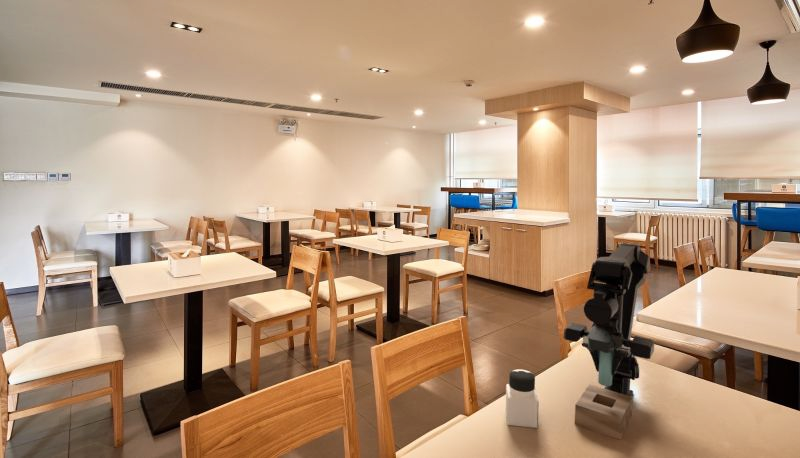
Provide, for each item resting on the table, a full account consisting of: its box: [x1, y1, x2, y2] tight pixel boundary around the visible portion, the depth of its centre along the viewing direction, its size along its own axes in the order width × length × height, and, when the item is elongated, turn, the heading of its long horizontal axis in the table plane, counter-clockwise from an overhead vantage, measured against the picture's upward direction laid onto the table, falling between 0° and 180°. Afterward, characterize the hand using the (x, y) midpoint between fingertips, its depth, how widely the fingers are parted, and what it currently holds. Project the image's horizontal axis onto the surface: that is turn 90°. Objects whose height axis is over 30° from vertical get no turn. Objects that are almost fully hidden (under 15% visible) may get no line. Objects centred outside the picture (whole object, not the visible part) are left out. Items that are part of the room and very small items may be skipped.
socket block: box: [574, 383, 633, 441], centre depth 100 cm, size 12×10×5 cm
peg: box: [597, 348, 614, 387], centre depth 98 cm, size 3×3×9 cm
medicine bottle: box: [505, 369, 540, 429], centre depth 100 cm, size 7×7×12 cm
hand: (605, 373), depth 98 cm, fingers closed on peg, 3 cm apart
